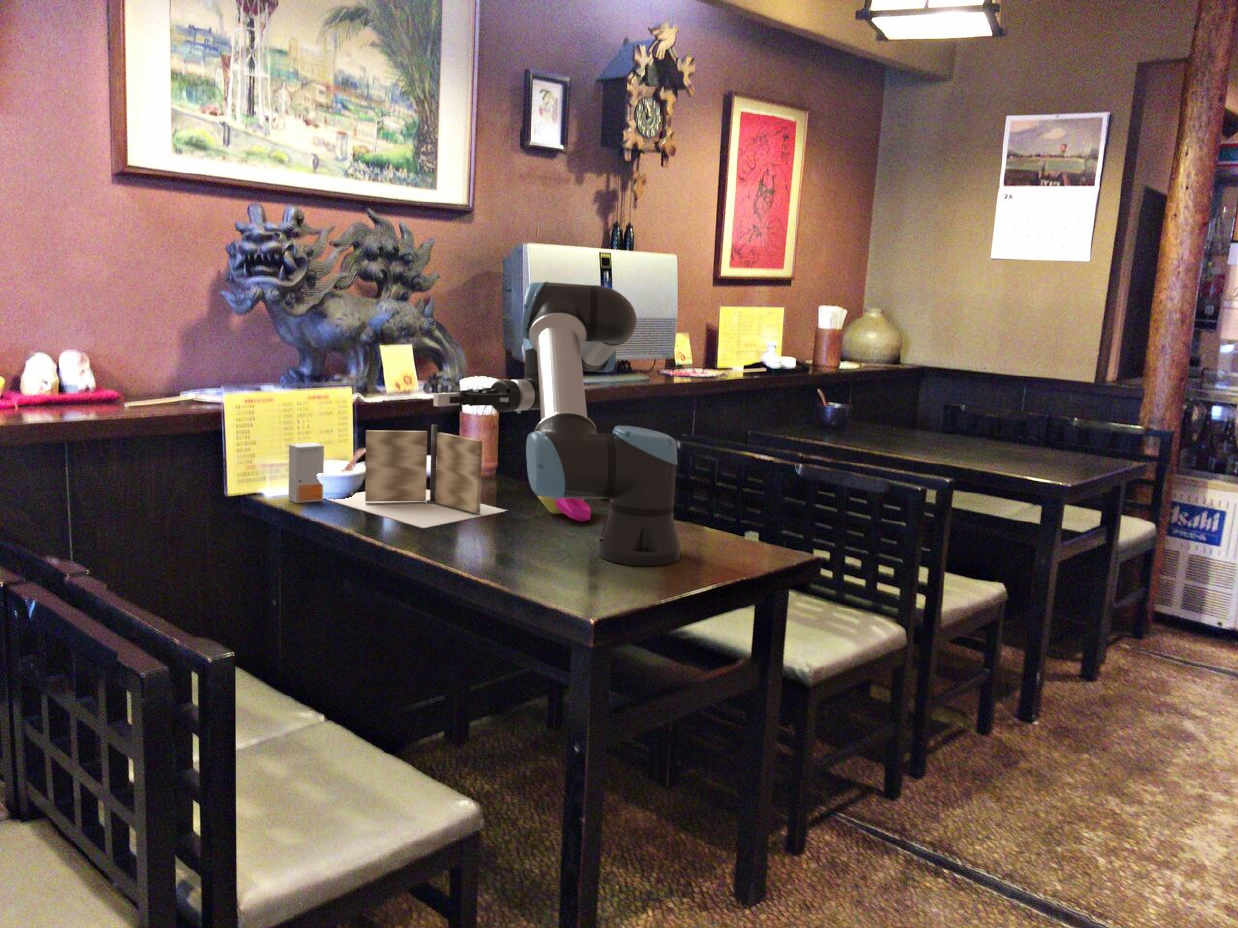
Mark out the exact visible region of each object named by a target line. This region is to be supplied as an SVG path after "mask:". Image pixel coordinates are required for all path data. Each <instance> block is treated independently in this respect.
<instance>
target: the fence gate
mask: <svg viewBox="0 0 1238 928" xmlns="http://www.w3.org/2000/svg"><path fill="white" fill-rule="evenodd" d="M427 459H428V431H427V430H376V429H375V430H371V429H370V430H368V429H366V430H365V485H364V486H365V491H364V492H365V502H390V501H426V489H427V466H428V464H427V463H428V460H427Z"/></svg>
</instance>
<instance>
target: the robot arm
mask: <svg viewBox="0 0 1238 928" xmlns="http://www.w3.org/2000/svg"><path fill="white" fill-rule="evenodd" d="M524 295H525V297H524V303H523V310H522V317H521V329H520V335H521V338H523V339H525V348H524V375H523V376H524V378H523V379H519V378H518V379H504V380H503V379H502V380H501V379H500V380H496V381H495V382H494V383H493V384H492V385H491V387H483V388H478V389H473V388H469V389H464V390H463V389H462V390H455V391H454V390H452V391H449V392H439V393H438V392H437V393H433V406H434V407H450V406H451V407H453V408H458V406H460V405H461V406H467V405H468V406H469V407H473V406H474V407H475V406H486V407H487V406H491V407H492V408H493V409H494V410H495V411H496V412H498V413H508V412H516V413H517V414H521V413H522V411H536V410H540V420H541V421H539V422H538V423H537V425H536V427H535V429H534V431H532V432H530V433H529V434H528V435H527V438H526V444H525V445H526V446H525V456H526V457H525V459H526V470H527V471H526V472H527V478H528V482H529V485H530V488H531V490H532V491H533V493H534V494H535V495H536V496H540V497H551V498H554V499H561V498H580V499H584V500H588V499H591V500H592V499H593V500H594V499H595V500H609V507H608V508H609V509H608V514H607V517H606V519H605V523H604V525H603V527H602V530H601V532H600V535H599V537H598V541H597V551H596V552H597V555H598V556H599V557H600V558H602V559H603V560H606V561H609V562H612V563H614V564H615V563H616V564H620V565H628V566H634V567H635V566H636V567H637V566H638V567H658V566H667V565H670V564H671V565H672V564H674V563H676V562H677V561H679V560H680V556H681V544H680V542H679V538H678V537H679V536H678V533H677V529H676V523H675V520H674V505H675V504H674V503H675V492H676V491H675V490H676V478H677V477H676V475H677V465H678V464H679V463H678V445H677V442H676V440H675V439H674V438H673V437H672V436H670V435H669V434H666V433H664V432H661V431H657V430H653V429H649V428H643V427H638V426H631V425H616V426H614V428H613V430H612V434H611V433H608V434H605V433H598V431H597V426H596V424H595V423H594V422H593V420H591V419H590V417H588V413H587V403H586V402H587V401H586V391H585V382H584V372H583V371H585V372H597V373H603V372H612V371H613V370H614V369H615V365H616V362H617V361H616V360H617V348H618V347H619V346H621V345H623V344H625V343H627V341H628V340H630V338H631V337H632V336H633V334H634V333H635V331H636V328H637V327H636V326H637V314H636V311H635V309H634V306H633V305H632V303H631V302H630V301H629V300H628V298H626V297H625V296H624V295H623V294H621V292H618V291H617V290H616V289H612V288H611V287H608V286H603V285H598V284H597V285H596V284H594V285H591V284H577V283H564V282H563V283H562V282H550V281H543V282H542V281H541V282H536V281H535V282H531V283H529V284H528V285H527V287H526V290H525V294H524Z"/></svg>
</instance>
